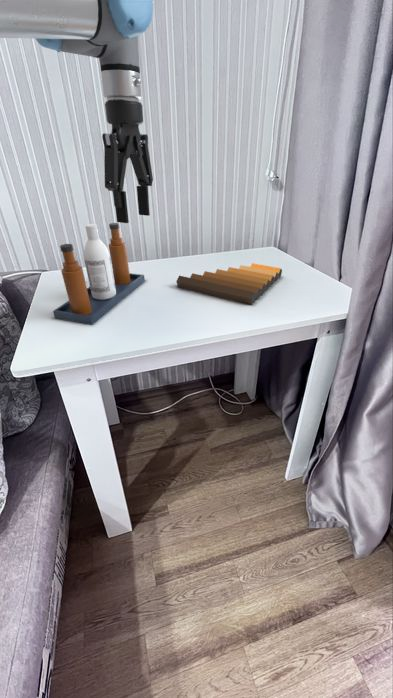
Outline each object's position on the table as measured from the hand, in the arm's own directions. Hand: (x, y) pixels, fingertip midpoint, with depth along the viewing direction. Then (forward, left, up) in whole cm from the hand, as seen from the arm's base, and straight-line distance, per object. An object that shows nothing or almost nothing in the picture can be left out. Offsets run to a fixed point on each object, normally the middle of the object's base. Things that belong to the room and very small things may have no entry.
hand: (134, 218), depth 78 cm
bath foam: (-8, +11, -23) cm, 26 cm away
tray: (-8, +11, -23) cm, 27 cm away
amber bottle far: (+1, +18, -23) cm, 29 cm away
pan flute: (+30, 0, -23) cm, 38 cm away
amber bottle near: (-16, +4, -23) cm, 28 cm away
